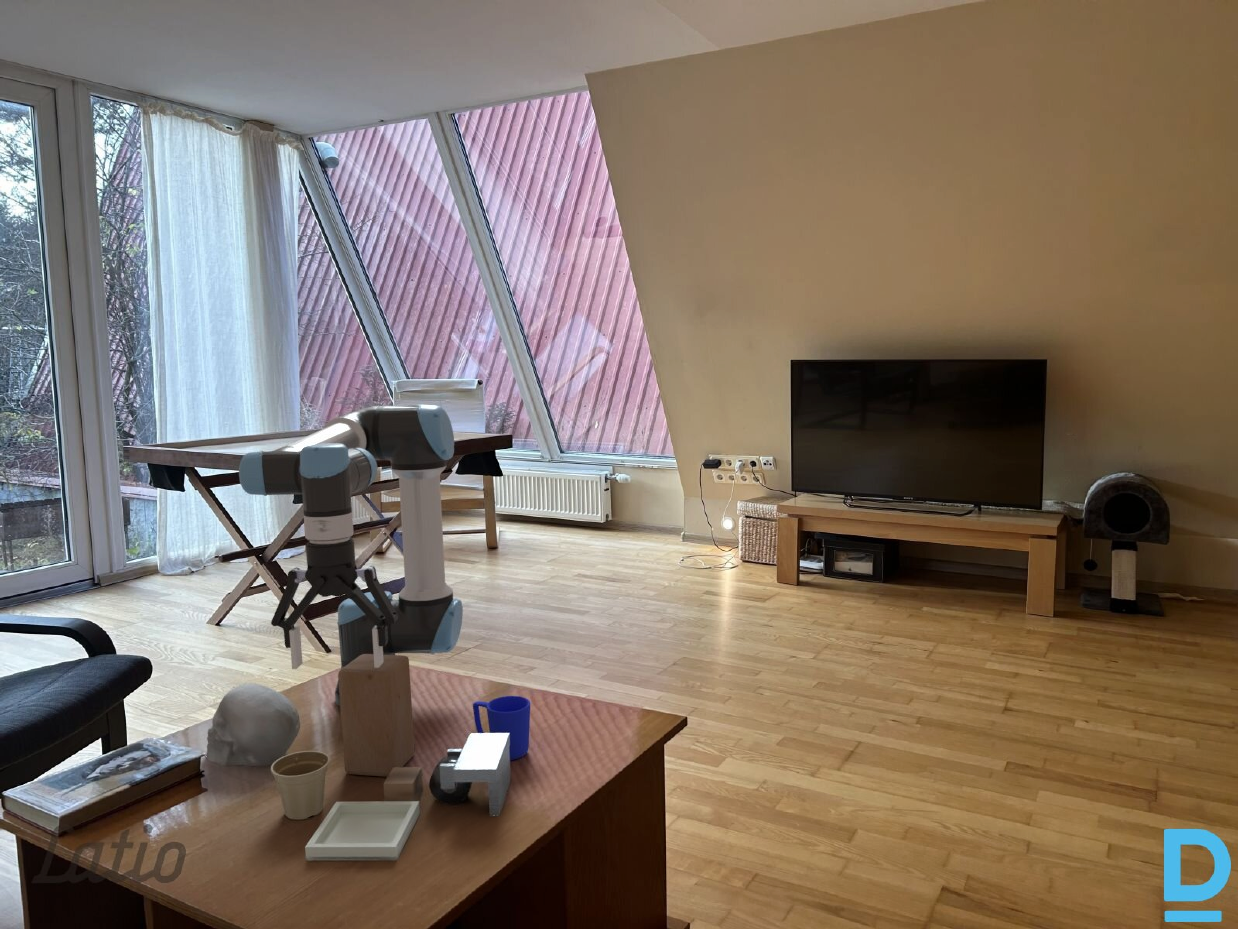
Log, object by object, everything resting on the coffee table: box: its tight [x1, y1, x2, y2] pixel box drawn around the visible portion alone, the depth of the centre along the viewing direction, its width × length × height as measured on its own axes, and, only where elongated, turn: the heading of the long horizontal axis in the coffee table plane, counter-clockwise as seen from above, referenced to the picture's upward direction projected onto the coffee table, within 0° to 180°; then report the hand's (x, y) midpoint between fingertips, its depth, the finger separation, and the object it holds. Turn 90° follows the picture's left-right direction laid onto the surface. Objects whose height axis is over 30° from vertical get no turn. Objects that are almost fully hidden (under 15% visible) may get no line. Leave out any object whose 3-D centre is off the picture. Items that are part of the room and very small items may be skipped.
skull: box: [205, 682, 301, 767], centre depth 178 cm, size 13×18×15 cm
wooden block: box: [337, 654, 415, 778], centre depth 172 cm, size 10×10×20 cm
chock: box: [383, 766, 424, 801], centre depth 160 cm, size 6×5×4 cm
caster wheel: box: [428, 732, 512, 817], centre depth 159 cm, size 14×12×9 cm
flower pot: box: [270, 750, 331, 821], centre depth 157 cm, size 9×9×9 cm
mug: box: [472, 695, 531, 761], centre depth 177 cm, size 8×12×10 cm
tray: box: [304, 800, 421, 862], centre depth 149 cm, size 14×14×2 cm
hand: (338, 665), depth 154 cm, fingers open, 13 cm apart
